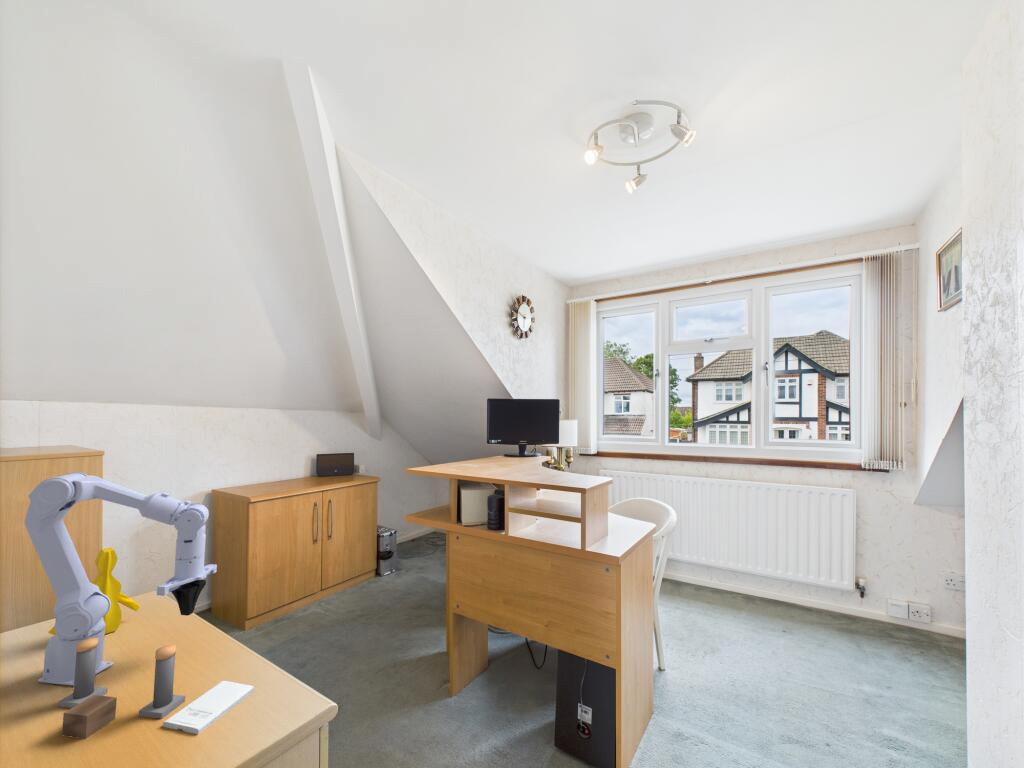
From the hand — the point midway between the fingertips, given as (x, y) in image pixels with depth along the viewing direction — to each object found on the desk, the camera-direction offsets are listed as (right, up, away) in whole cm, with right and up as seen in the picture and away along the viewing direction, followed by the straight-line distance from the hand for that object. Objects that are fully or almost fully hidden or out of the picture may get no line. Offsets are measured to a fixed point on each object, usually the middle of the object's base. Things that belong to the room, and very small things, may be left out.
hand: (186, 614), depth 103 cm
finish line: (+1, -8, -18) cm, 20 cm away
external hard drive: (+19, -9, -19) cm, 28 cm away
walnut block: (0, -8, -24) cm, 25 cm away
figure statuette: (-29, -10, +8) cm, 32 cm away
